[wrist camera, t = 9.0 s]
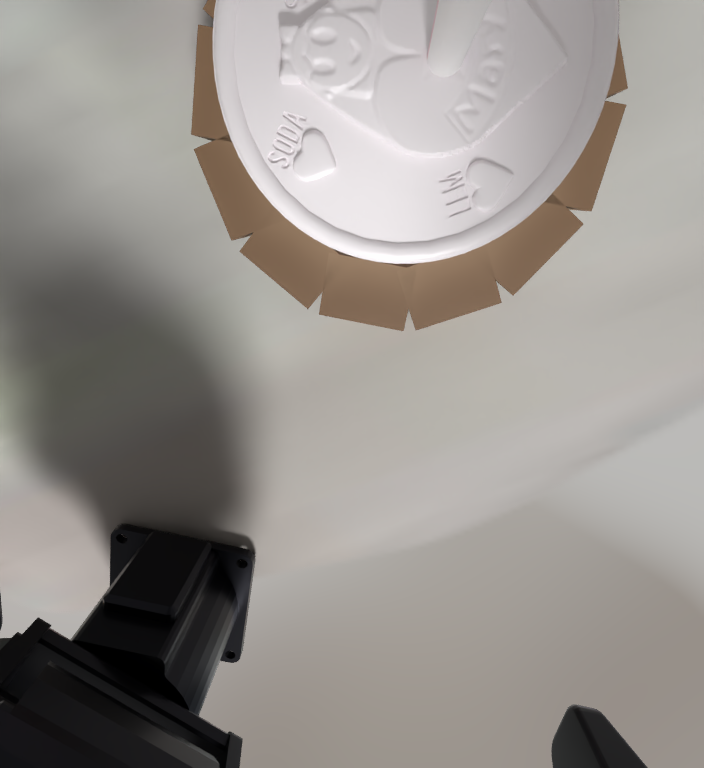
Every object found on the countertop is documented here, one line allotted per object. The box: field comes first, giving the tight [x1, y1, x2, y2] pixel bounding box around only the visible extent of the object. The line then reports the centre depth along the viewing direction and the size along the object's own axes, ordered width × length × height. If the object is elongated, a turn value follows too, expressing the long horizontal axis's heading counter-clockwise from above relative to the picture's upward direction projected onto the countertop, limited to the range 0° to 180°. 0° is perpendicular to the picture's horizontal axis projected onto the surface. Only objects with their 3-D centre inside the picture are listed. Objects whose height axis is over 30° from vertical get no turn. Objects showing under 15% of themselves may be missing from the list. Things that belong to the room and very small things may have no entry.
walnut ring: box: [191, 0, 628, 331], centre depth 16 cm, size 12×12×2 cm
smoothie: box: [213, 0, 619, 264], centre depth 10 cm, size 6×6×14 cm
